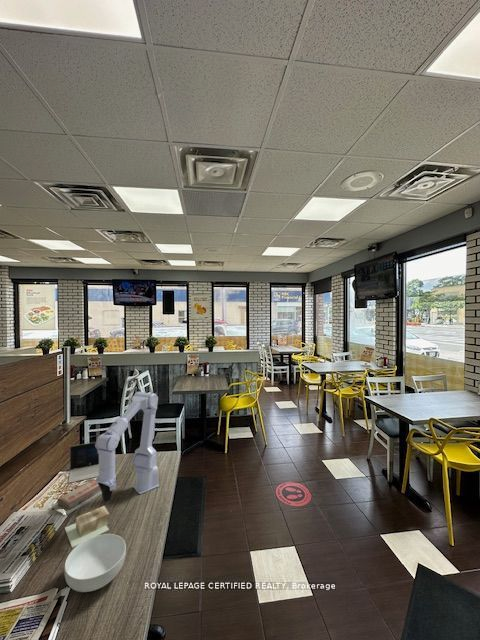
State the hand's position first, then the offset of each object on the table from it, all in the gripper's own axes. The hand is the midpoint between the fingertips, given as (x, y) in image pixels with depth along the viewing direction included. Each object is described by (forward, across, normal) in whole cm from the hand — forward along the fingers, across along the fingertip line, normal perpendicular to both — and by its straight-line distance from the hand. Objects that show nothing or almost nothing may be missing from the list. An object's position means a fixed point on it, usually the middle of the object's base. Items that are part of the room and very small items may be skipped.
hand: (106, 500), depth 110 cm
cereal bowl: (+8, +23, -10) cm, 26 cm away
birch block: (+6, 0, 0) cm, 6 cm away
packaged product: (+9, -21, -5) cm, 23 cm away
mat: (+8, 0, -7) cm, 11 cm away
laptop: (+8, -42, +4) cm, 43 cm away
